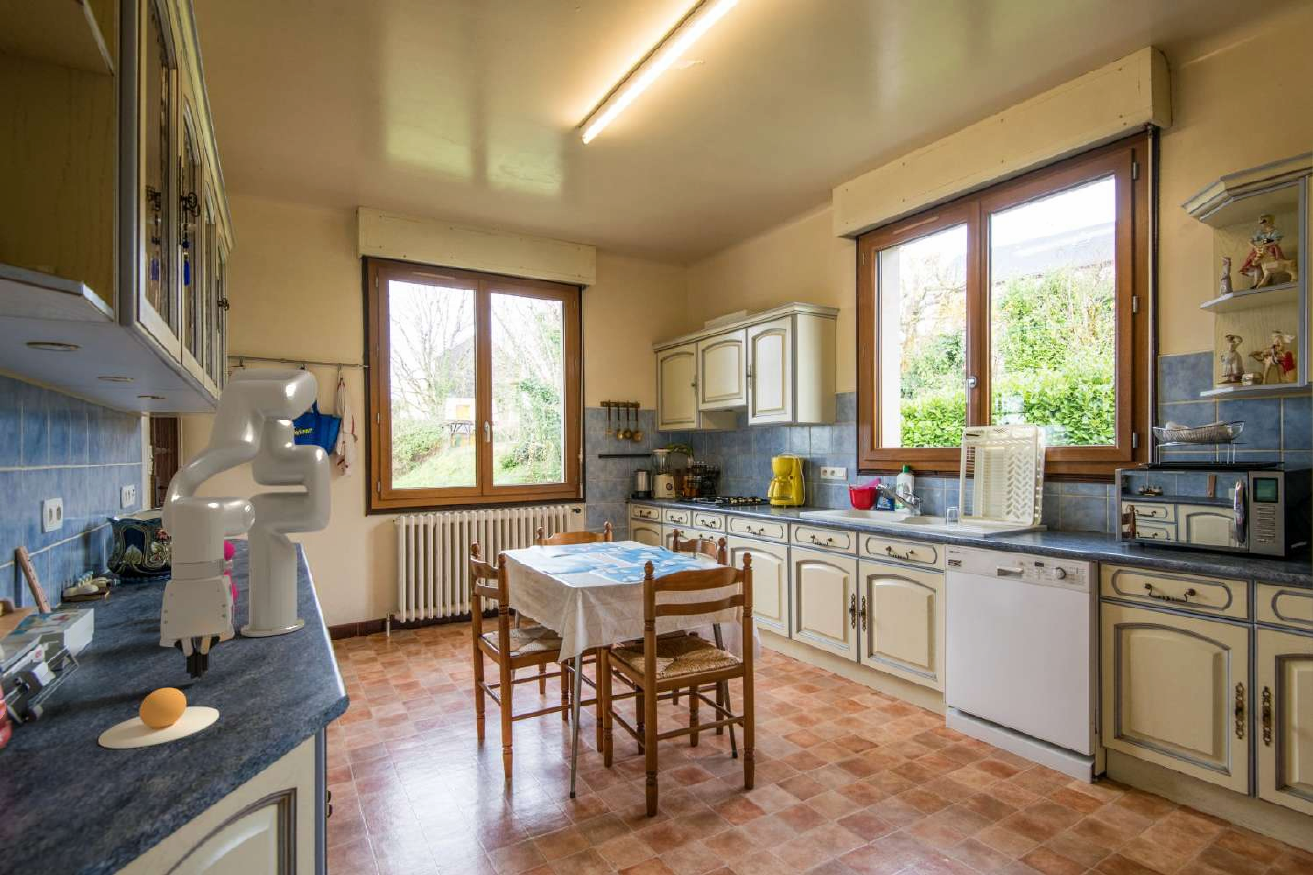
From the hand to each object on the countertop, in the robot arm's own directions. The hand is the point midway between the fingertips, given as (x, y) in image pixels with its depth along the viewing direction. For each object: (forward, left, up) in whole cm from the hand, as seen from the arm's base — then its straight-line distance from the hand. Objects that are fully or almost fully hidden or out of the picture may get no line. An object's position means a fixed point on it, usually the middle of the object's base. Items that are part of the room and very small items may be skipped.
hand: (198, 675), depth 111 cm
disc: (+19, -1, -2) cm, 19 cm away
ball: (+19, -1, +1) cm, 19 cm away
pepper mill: (-60, -6, -2) cm, 60 cm away
